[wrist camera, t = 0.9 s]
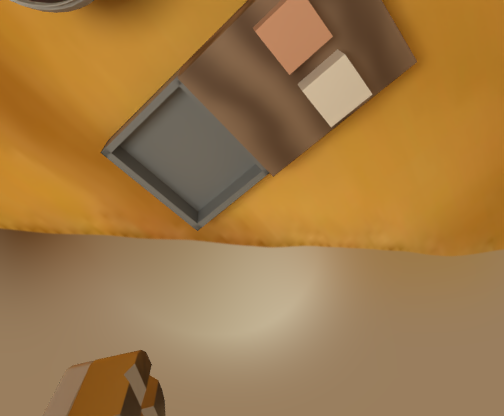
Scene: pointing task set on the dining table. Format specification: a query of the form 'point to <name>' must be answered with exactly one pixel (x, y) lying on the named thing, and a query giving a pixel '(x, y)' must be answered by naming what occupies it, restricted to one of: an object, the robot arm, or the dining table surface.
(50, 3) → the food container
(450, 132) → the dining table surface
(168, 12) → the dining table surface
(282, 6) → the terracotta tile
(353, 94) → the cream block
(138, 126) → the bin
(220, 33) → the block
